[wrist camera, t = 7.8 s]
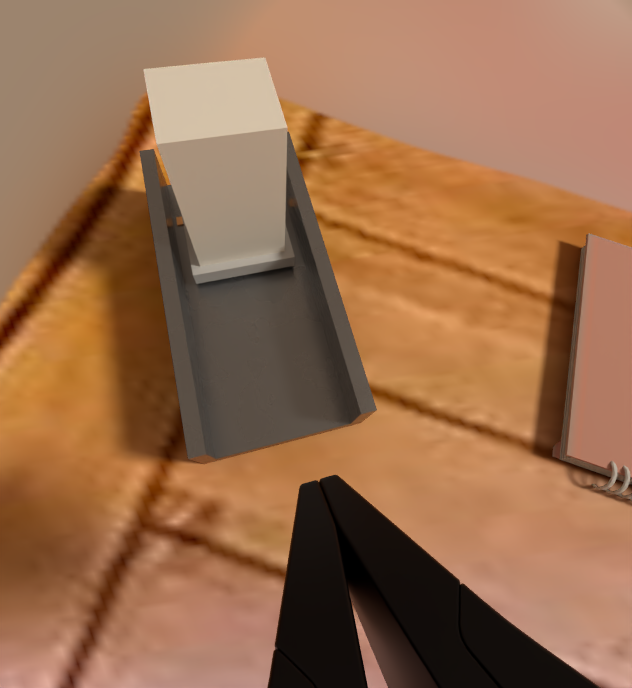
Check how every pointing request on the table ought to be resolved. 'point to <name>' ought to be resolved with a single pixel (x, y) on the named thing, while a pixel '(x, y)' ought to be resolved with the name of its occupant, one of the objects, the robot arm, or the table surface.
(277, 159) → the cream rectangular block
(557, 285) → the table surface
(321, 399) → the rail housing
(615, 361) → the notebook
